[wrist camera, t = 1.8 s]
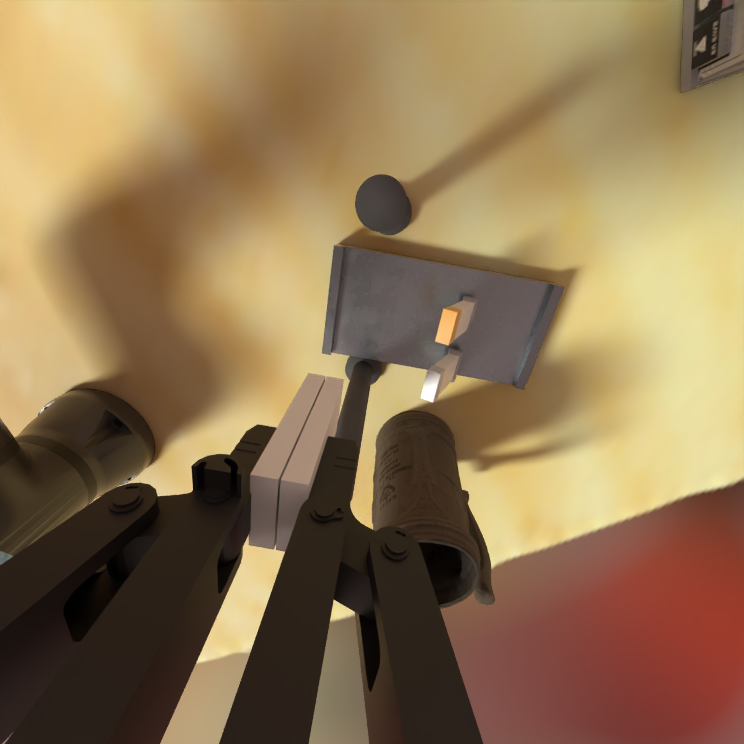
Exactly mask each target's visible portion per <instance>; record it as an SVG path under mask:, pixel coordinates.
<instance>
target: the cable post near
mask: <svg viewBox="0 0 744 744" xmlns="http://www.w3.org/2000/svg"><path fill="white" fill-rule="evenodd" d="M355 207H356V212H357V215H358V217H359V219H360V221H361V222H362V223H363V224H364V225H365V226H366V227H367V228H369V229H370V230H373V231H376V232H380V233H382V234H385V235H394V234H397V233H399V232H401V231H402V230H403V229H404V228H405V227H406V226H407V224H408V223H409V220H410V217H411V204H410V201H409V199H408V197H407V196H406V193H405V191H404V189H403V187H402V185H401V184H400V183H399V182H398V181H397V180H396V179H394V178H393V177H391V176H388V175H375V176H372V177H370V178H368V179H367V180H366V181H365V182H364V183H363V184H362V185H361V186H360V188H359V190H358V192H357V195H356V201H355Z"/></svg>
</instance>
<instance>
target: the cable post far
mask: <svg viewBox="0 0 744 744" xmlns="http://www.w3.org/2000/svg"><path fill="white" fill-rule="evenodd" d="M345 371H346V375H347V377H348V378H349V380H350V382H349V385H348V389H347V392H346V395H345V399H344V402H343V406H342V409H341V413H340V416H339V419H338V423H337V430H336V434H335V437H337V438H342V439H348V440H354V441H355V443H356V445H357V447H358V450H359V452H358V458H357V464H356V470H355V476H354V482H353V488H352V494H351V500H352V497H353V491H354V484H355V478H356V472H357V466H358V459H359V453H360V447H361V441H362V434H363V428H364V422H365V416H366V409H367V403H368V397H369V391H370V385H371V384H373V383H375V382H376V381H377V380H378V378H379V376H380V373H381V363H380V361H377V360H371V359H365V358H360V357H354V356H350V357H349V358H348V361H347V363H346V367H345ZM351 500H350V501H351Z"/></svg>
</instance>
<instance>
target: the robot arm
mask: <svg viewBox="0 0 744 744" xmlns="http://www.w3.org/2000/svg"><path fill="white" fill-rule="evenodd" d="M343 382H344V379H339V378H333V377H326V380H325V376H322V375H316V374H311V373H308V375H307V377H306V378H305V380H304V382H303V383H302V385H301V387H300V389H299V390H298V392H297V394H296V396H295V397H294V399H293V401H292V403H291V404H290V406H289V408H288V410H287V411H286V413H285V415H284V417H283V418H282V420H281V422H280V424H279V425H278V427H277V428H275V427H269V426H264V425H256V426H254V427H253V428H251V429H250V430H248V431H246V433H245V434H244V436H243V437H242V438H241V440H240V442H239V443H238V444H237V445H236V447H235V449H234V450H233V451H232V453H231V454H230V455H228V454H216V455H210V456H207V457H204V458H202V459H200V460H198V461H197V462H196V463H195V464H193V465H192V480H193V491H192V492H191V493H187V494H181V495H170V496H157V492H156V489H155V488H153V487H152V486H151V485H149V484H144V483H130V484H126V485H122V484H125V483H127V482H129V481H131V480H133V479H134V478H135V477H137V476H138V475H139V474H140V473H141V472H142V471H143V470H144V469H145V468H146V467H147V466H148V465H149V464H150V462H151V461H152V459H153V456H154V450H155V446H154V439H153V436H152V433H151V431H150V429H149V427H148V425H147V424H146V422H145V421H144V420H143V418H142V417H141V416H140V415H139V414H138V413H137V412H136V411H135V410H134V409H133V408H132V407H131V406H129V405H128V404H127V403H125V402H124V401H122V400H120V399H118V398H117V397H115V396H112V395H110V394H108V393H105V392H101V391H97V390H92V389H77V390H72V391H69V392H67V393H65V394H63V395H61V396H59V397H57V398H55V399H54V400H52V401H50V402H49V403H48V404H46V405H45V406H44V407H43V409H42V410H41V411H40V412H39V414H38V417H37V418H35V419H34V420H33V421H32V422H31V423H30V424H28V425H27V426H26V427H25V429H24V430H23V431H22V432H21V433H20V434H19V435H18V436H17V437H15V438H14V437H13V435H12V434H11V432H10V431H9V430H8V428H7V427H6V425H5V424H4V423H3V421H2V420H1V419H0V744H2V743H3V742H4V741H5V740H6V739H7V738H8V737H9V736H10V735H11V734H12V733H13V734H12V735H11V736H10V738H9V739H8V740H7V742H6V743H5V744H160V743H161V740H162V738H163V736H164V734H165V731H166V729H167V727H168V725H169V722H170V720H171V718H172V715H173V713H174V711H175V709H176V707H177V704H178V702H179V700H180V698H181V695H182V693H183V691H184V689H185V687H186V684H187V682H188V680H189V677H190V675H191V673H192V671H193V669H194V666H195V664H196V662H197V660H198V657H199V655H200V653H201V651H202V648H203V646H204V644H205V642H206V640H207V637H208V635H209V633H210V631H211V628H212V626H213V624H214V622H215V619H216V617H217V615H218V613H219V610H220V608H221V606H222V604H223V601H224V599H225V597H226V595H227V592H228V590H229V588H230V586H231V584H232V581H233V579H234V577H235V575H236V572H237V570H238V568H239V566H240V563H241V560H242V555H243V545H244V543H245V541H246V539H247V537H248V535H249V545H251V546H257V547H263V548H268V549H274V547H275V545H276V550H280V551H285V554H284V557H283V560H282V563H281V566H280V569H279V571H278V574H277V577H276V580H275V583H274V586H273V589H272V592H271V595H270V598H269V600H268V603H267V606H266V609H265V612H264V615H263V618H262V621H261V624H260V627H259V629H258V632H257V635H256V638H255V641H254V644H253V647H252V650H251V653H250V656H249V659H248V662H247V665H246V668H245V670H244V673H243V676H242V679H241V682H240V685H239V688H238V691H237V693H236V696H235V699H234V702H233V705H232V708H231V711H230V714H229V717H228V719H227V722H226V725H225V728H224V732H223V734H222V737H221V740H220V743H219V744H309V737H310V732H311V726H312V720H313V715H314V709H315V703H316V698H317V692H318V686H319V680H320V674H321V669H322V663H323V658H324V652H325V646H326V640H327V634H328V629H329V623H330V617H331V612H332V606H333V600H336V601H337V602H339V603H341V604H343V605H344V606H346V607H348V608H349V609H351V610H353V611H355V618H356V628H357V636H358V646H359V655H360V662H361V663H360V664H361V673H362V682H363V690H364V700H365V709H366V718H367V727H368V736H369V744H483V741H482V739H481V735H480V732H479V729H478V726H477V723H476V720H475V717H474V714H473V711H472V707H471V704H470V701H469V698H468V695H467V692H466V689H465V686H464V682H463V679H462V676H461V673H460V670H459V667H458V664H457V661H456V657H455V654H454V651H453V648H452V645H451V642H450V639H449V636H448V633H447V629H446V626H445V623H444V620H443V617H442V614H441V611H440V608H439V605H438V601H437V598H436V595H435V592H434V589H433V586H432V583H431V580H430V577H429V573H428V570H427V567H426V564H425V561H424V558H423V555H422V552H421V549H420V546H419V544H418V542H417V540H416V539H415V537H413V536H412V535H411V534H410V533H409V532H408V531H406V530H404V529H402V528H400V527H394V526H387V527H382V528H380V529H378V530H377V531H374V530H372V529H370V528H368V527H366V526H365V525H363V524H361V523H360V522H359V521H358V520H357V519H356V518H355V517H354V515H353V513H352V511H351V508H350V500H351V494H352V488H353V482H354V476H355V470H356V464H357V458H358V452H359V450H358V447H357V445H356V443H355V441H354V440H348V439H342V438H337V437H335V434H336V430H337V423H338V416H339V409H340V403H341V396H342V389H343ZM119 485H122V486H119ZM117 486H119V487H117ZM103 494H104V495H103ZM101 495H102V496H101ZM99 496H101V497H99ZM97 497H99V498H98V499H96V500H95V501H93V500H94V499H95V498H97ZM92 501H93V502H92ZM91 502H92V503H91ZM90 503H91V504H90ZM15 729H16V730H15Z"/></svg>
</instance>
